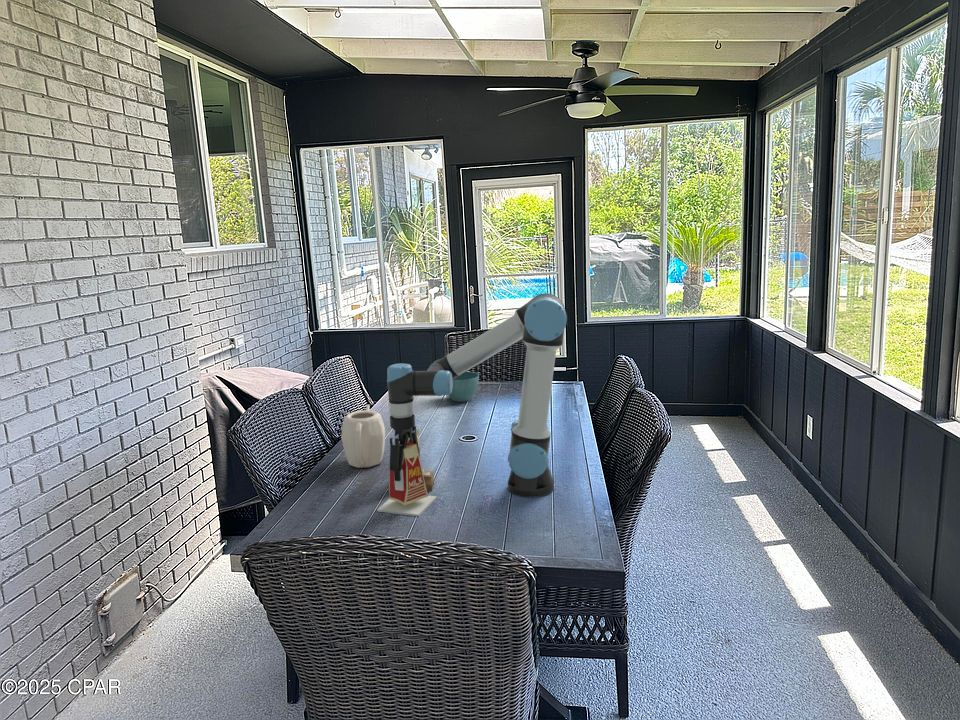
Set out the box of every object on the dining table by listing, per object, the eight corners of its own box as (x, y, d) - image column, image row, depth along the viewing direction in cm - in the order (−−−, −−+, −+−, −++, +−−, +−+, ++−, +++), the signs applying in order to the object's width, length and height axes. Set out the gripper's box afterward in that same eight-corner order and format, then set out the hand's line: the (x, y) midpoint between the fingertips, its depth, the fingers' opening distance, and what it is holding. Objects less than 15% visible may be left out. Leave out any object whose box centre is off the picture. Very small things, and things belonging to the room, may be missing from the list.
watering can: (391, 449, 262) (388, 402, 259) (382, 474, 236) (378, 423, 233) (351, 450, 262) (348, 404, 259) (338, 476, 236) (334, 424, 232)
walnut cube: (434, 485, 225) (433, 470, 224) (432, 490, 220) (431, 476, 219) (419, 485, 226) (418, 470, 225) (417, 491, 221) (416, 476, 220)
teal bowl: (479, 404, 322) (478, 379, 319) (441, 405, 322) (440, 380, 320) (479, 394, 340) (479, 371, 337) (444, 395, 340) (442, 372, 338)
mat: (436, 498, 214) (436, 496, 214) (418, 516, 201) (418, 514, 201) (397, 493, 219) (397, 492, 219) (377, 511, 206) (377, 509, 206)
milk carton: (428, 496, 210) (424, 435, 206) (405, 505, 203) (401, 443, 199) (408, 489, 216) (405, 429, 212) (386, 498, 210) (382, 437, 205)
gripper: (406, 404, 215) (410, 470, 220) (374, 424, 195) (379, 496, 200) (427, 405, 213) (431, 472, 218) (397, 425, 193) (402, 499, 197)
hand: (406, 483), depth 209 cm, fingers closed on milk carton, 9 cm apart
